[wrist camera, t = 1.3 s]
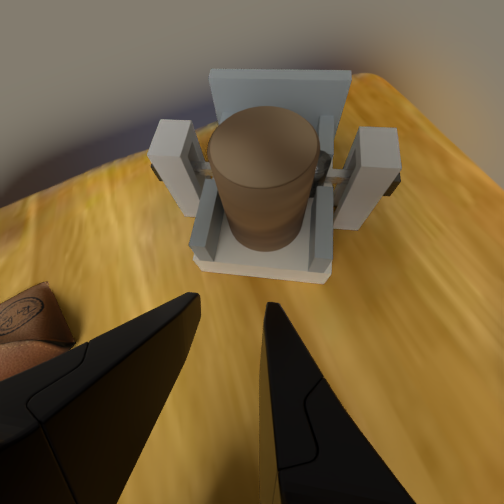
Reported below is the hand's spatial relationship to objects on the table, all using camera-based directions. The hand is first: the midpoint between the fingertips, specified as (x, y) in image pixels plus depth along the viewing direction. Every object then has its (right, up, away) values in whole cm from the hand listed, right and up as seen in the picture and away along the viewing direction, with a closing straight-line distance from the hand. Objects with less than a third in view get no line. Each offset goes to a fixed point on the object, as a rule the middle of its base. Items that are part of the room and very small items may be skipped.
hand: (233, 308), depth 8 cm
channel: (+2, +6, +16) cm, 17 cm away
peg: (+2, +5, +13) cm, 14 cm away
